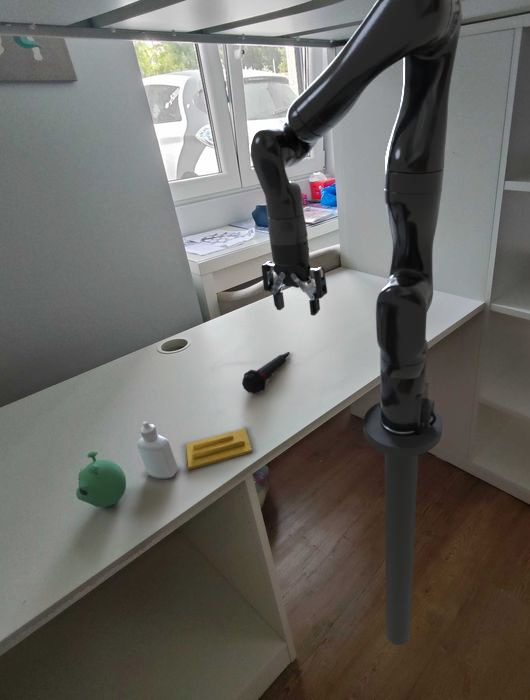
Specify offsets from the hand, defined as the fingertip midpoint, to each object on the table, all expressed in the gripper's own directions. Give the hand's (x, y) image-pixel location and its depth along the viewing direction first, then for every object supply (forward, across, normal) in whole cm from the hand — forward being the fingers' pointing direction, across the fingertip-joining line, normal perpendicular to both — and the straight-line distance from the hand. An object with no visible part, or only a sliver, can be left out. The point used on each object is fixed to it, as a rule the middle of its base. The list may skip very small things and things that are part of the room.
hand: (297, 311), depth 97 cm
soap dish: (+19, -5, -27) cm, 33 cm away
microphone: (+19, -9, -1) cm, 21 cm away
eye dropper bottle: (+19, -11, -36) cm, 42 cm away
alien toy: (+19, -15, -45) cm, 51 cm away
